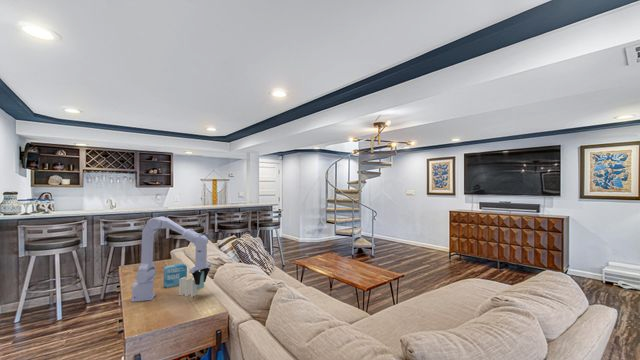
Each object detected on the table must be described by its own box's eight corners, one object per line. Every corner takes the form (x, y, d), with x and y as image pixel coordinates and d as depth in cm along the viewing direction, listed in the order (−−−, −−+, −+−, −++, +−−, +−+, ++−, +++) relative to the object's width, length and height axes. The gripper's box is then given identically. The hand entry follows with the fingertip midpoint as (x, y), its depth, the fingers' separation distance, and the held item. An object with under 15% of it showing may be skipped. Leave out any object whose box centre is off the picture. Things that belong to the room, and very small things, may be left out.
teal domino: (196, 289, 152) (197, 272, 153) (202, 287, 156) (202, 270, 157) (198, 289, 152) (199, 272, 152) (203, 287, 156) (204, 271, 156)
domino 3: (190, 297, 153) (190, 280, 154) (195, 294, 157) (196, 278, 158) (192, 297, 153) (192, 280, 153) (197, 294, 157) (198, 278, 157)
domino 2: (184, 296, 155) (185, 279, 155) (190, 293, 158) (190, 277, 159) (186, 296, 154) (186, 279, 155) (191, 294, 158) (192, 277, 158)
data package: (165, 288, 167) (165, 268, 168) (163, 286, 170) (163, 266, 171) (186, 284, 175) (187, 264, 176) (184, 282, 178) (184, 263, 179)
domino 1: (178, 295, 156) (179, 279, 156) (184, 293, 160) (184, 276, 160) (180, 295, 156) (181, 279, 156) (186, 293, 159) (186, 277, 160)
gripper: (197, 261, 147) (196, 288, 146) (215, 255, 160) (215, 279, 160) (186, 260, 149) (185, 286, 148) (205, 254, 163) (205, 278, 162)
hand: (200, 283), depth 154 cm, fingers closed on teal domino, 4 cm apart
